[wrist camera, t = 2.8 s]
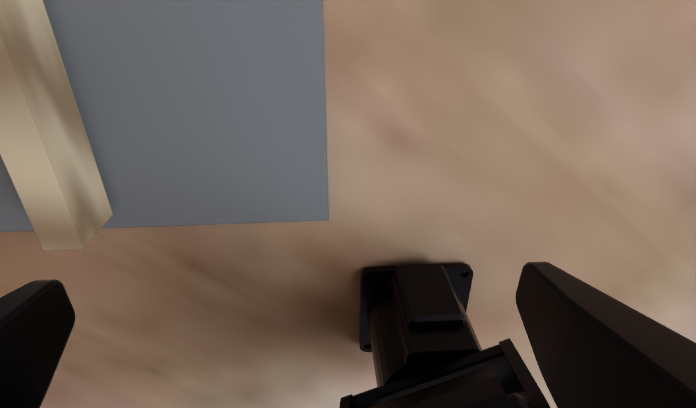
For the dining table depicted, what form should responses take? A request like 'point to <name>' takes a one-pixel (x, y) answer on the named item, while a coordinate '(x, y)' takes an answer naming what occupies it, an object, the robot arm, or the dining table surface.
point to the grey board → (196, 109)
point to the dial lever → (46, 133)
